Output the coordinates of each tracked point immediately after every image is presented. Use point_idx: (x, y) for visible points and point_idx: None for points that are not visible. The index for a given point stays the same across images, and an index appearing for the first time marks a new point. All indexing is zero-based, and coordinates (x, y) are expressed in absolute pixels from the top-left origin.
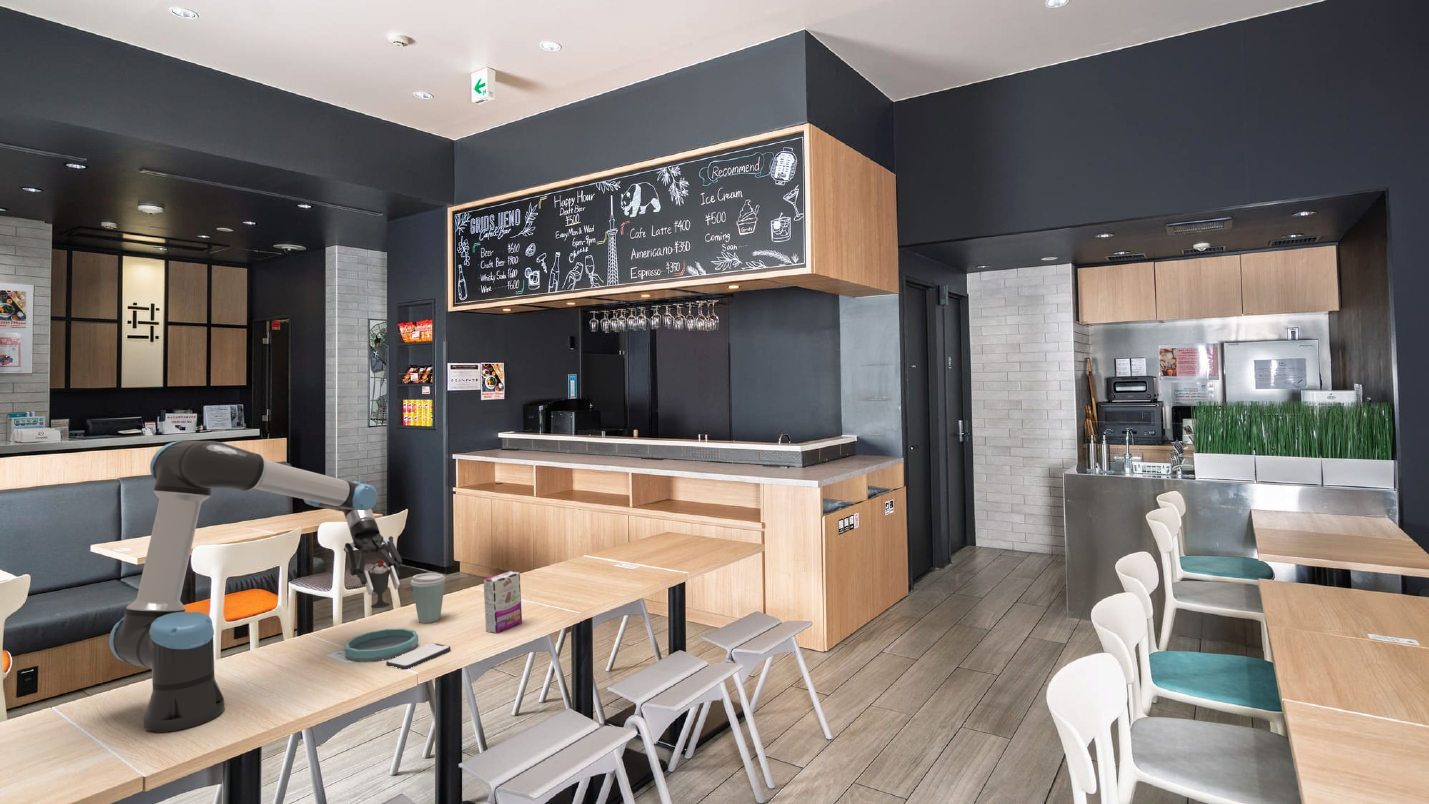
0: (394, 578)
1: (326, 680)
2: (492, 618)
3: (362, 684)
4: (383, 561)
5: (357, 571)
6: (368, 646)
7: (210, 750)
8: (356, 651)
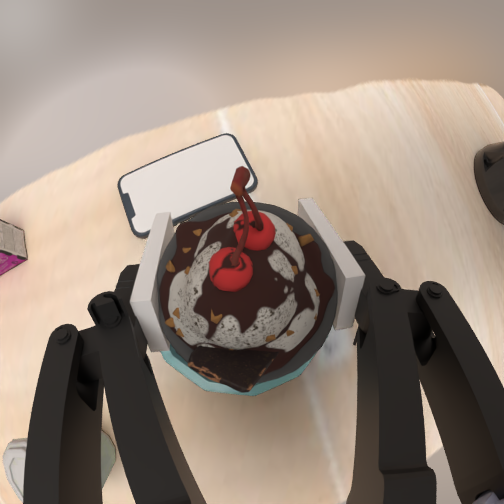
0: (166, 242)
1: (368, 183)
2: (6, 230)
3: (314, 120)
4: (212, 259)
5: (406, 291)
6: None
7: (452, 83)
8: None
